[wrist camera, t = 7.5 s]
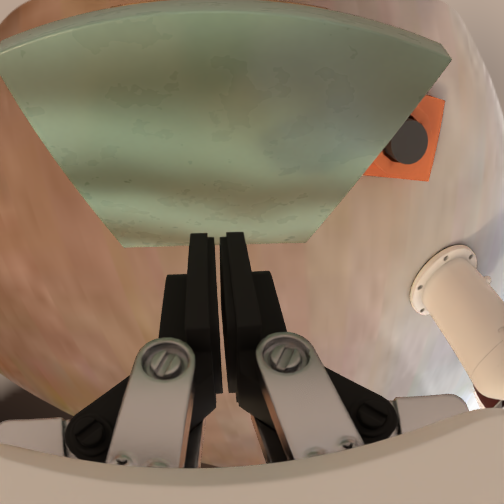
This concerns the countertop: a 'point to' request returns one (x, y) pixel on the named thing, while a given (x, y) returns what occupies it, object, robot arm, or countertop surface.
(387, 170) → the button block
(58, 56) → the green box lid
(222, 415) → the countertop surface
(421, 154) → the button
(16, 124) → the countertop surface
